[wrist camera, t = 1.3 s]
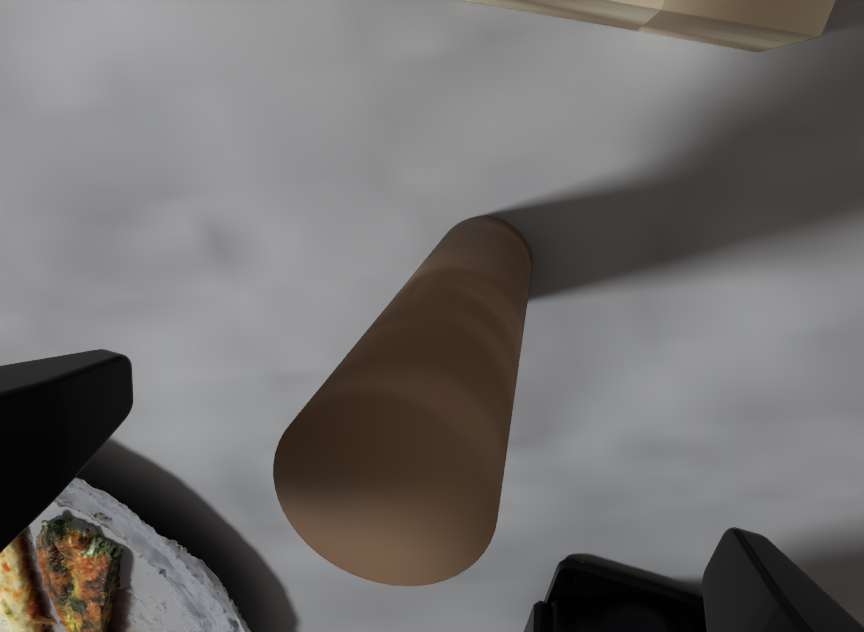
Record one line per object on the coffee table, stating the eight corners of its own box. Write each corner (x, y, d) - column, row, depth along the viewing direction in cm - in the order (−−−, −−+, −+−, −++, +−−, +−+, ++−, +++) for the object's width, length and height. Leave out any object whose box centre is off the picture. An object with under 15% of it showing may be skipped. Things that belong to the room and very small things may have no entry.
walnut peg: (543, 228, 16) (524, 433, 6) (519, 318, 17) (470, 612, 7) (446, 206, 17) (280, 367, 7) (429, 296, 18) (267, 547, 8)
